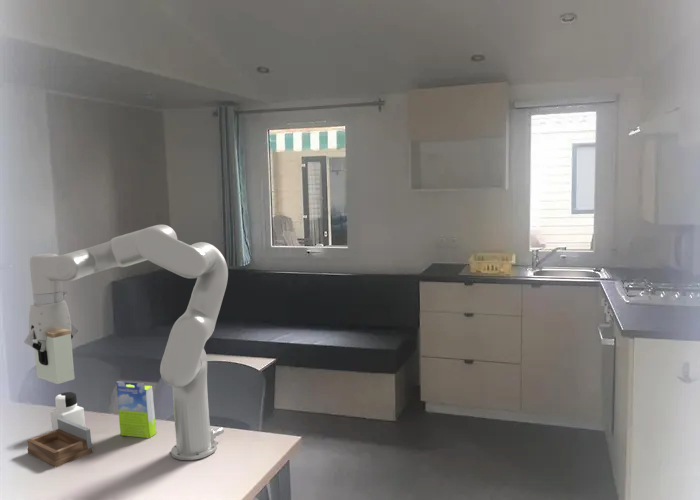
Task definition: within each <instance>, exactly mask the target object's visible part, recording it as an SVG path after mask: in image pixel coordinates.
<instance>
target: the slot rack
mask: <svg viewBox="0 0 700 500" xmlns="http://www.w3.org/2000/svg"><path fill="white" fill-rule="evenodd" d="M57 422H58V429H57V430H54V431H49V432H46V433H43V434H40V435H39V436H35V437H32V438H30V439H27V440H26V444H27V454H29V455H30V456H32V457H35V458H37V459H39V460H41V461H42V462H45V463H47V464H49V465H50V466H53V467H55V468H58V467H60V466H63V465H66V464H68V463H70V462H73V461H75V460H77V459H80V458H82V457H85V456H87V455H89V454H92V453H93V446H92V445H93V444H92V437H91V435H92V433H91V429H90V428H88V427H86V426H85V427H83V426H81V425H78V424H76V423H73V422H71V421H68V420H66V419H63V418H59V419H57Z"/></svg>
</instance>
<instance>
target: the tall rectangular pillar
mask: <svg viewBox="0 0 700 500" xmlns="http://www.w3.org/2000/svg"><path fill="white" fill-rule="evenodd" d="M33 342H35V343H37V339H33ZM72 343H73V341H72V339H71V330H67V329H61V330H57V331H53V332H48V333H47V340H46V346H45V351H47V357H48V365H42V364H40V362H39V357H38V351H37V350H36V349H34V348H33V349H34V350H33V351H34V360H35V370H36V378H38V379H42V380H44V381H47V382H50V383H53V384H55V385H59V384H63V383H66V382H69V381H73V380H75V379H76V378H75V367H74V366H75V365H74V356H73V346H72Z"/></svg>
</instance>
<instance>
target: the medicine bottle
mask: <svg viewBox="0 0 700 500" xmlns="http://www.w3.org/2000/svg"><path fill="white" fill-rule="evenodd" d="M54 400H55V402H54V403H55V409H52V410H50V419H51V420H50V421H51V430H52V431H54V430H57V429H58V422H57V419H59V418H63V419H66V420H68V421H71V422H73V423H76V424H78V425H81V426H83V427H86V421H85V420H86V418H85V410H84V409H85V408H84V407H82V406H79V405H78V399H77V394H76V393H75V392H72V391H67V392H66V391H65V392H62V393H59V394H58V395H56V396H55V397H54Z"/></svg>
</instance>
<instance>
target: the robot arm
mask: <svg viewBox="0 0 700 500" xmlns="http://www.w3.org/2000/svg"><path fill="white" fill-rule="evenodd" d="M145 261H149V262H150V263H152V264H154V265H157V266H159V267H161V268H164V269H165V270H167V271H169V272H172V273H173V274H176V275H178V276H180V277H183V278H186V279H196V281H195V285H194V286H193V289H192V292H191V296H190V299H189V302H188V305H187V308H186V310H185V311H184V313H183V314H182V315H181V316H179V317H178V318H177V320H176V321H175V322H174V324H173V325H172V328H171V329H170V333H169V336H168V340H167V342H166V346H165V350H164V351H163V352H164V353H163V356H162V358H161V361H160V366H159V367H160V368H159V373H160V376H161V379H162V380H163V383H165V384H166V385H168V386H169V387H171V388H172V402H173V403H172V404H173V406H172V407H173V415H174V416H173V417H174V418H173V419H174V428H175V431H174V432H175V439H176V440H175V442H176V443H175V444H174V445H173V446H172V448H171V450H170V451H171V452H170V453H171V456H172V457H173V458H174V459H175V460H176V459H177V460H180V461H195V460H199V459H203V458H206V457H208V456H210V455H212V454H214V452H216V450H217V449H218V445H217V442H216V440H215V438H216V437H217V436H221V435H222V434H224V428H223V427H218V428H216V429H214V427H211V423H210V422H211V421H210V410H209V398H208V397H209V396H208V356H207V353H206V350H205V345H206V343H207V341H208V340H209V339H210V338H211V336H212V335H213V333H214V331H215V328H216V324H217V320H218V316H219V314H220V310H221V306H222V303H223V299H224V296H225V292H226V289H227V285H228V281H229V280H228V278H229V268H228V265H227V261H226V258H225V257H224V255H223V253H222V252H221V251H220V250H219V249H218V248H217V247H216V246H215V245H213V244H211V243H209V242H204V241H200V242H199V241H198V242H195V243H193V244H191V245H190V244H188V243H185V242H184V241H181V240H179V239H178V236H177V233H176V231H175V230H174V229H173V228H172V227H170V226H169V225H167V224H156V225H152V226H149V227H145V228H142V229H140V230H139V229H138V230H136V231H135V230H134V231H132V232H129V233H126V234H125V233H124V234H123V235H122V234H121V235H118V236H115V237H112V238H111V240H109V241H106V242H103V243H100V244H99V243H98V244H96V245H93V246H90V247H86V248H83V249H78V250H75V251H72V252H68V253H65V254H60V255H58V254H57V253H48V252H47V253H39V254H34V255H32V256H31V257H30V258H29V269H30V281H31V289H32V300H33V303H32V304H30V307H29V314H28V335H27V336H26V338H25V339H24V341H23V342H24V344H26V345H28V346H30V347H32V348H33V349H36V350H37V351H38V357H39V362H40V364H42V365H48V357H47V351H45V346H46V340H47V333H48V332H53V331H57V330H61V329H67V330H71V340H73V338H74V337H75V335H76V334H77V333H78V332H79V331H78V329H77V327H75V325H73V324H72V321H71V316H70V315H71V314H70V310H69V307H68V304H67V301H66V300H65V297H66V296H68V291H66V290H64V289H63V282H74V281H76V280H79V279H81V278H84V277H86V276H90V275H92V274H96V273H99V272H103V271H106V270H109V269H112V268H117V267H119V268H125V267H129V266H133V265H136V264H139V263H143V262H145ZM33 339H37V343H35V342H34V340H33Z"/></svg>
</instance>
